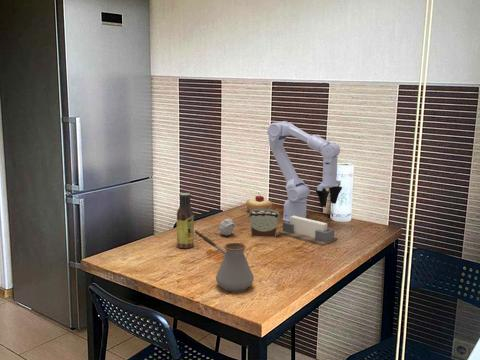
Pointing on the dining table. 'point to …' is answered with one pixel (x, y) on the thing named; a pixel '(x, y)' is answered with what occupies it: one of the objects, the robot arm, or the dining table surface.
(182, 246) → the sauce bottle
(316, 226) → the slat
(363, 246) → the dining table surface
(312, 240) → the base board
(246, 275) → the coffee pot
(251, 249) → the dining table surface
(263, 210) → the food container
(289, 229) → the end caps
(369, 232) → the dining table surface
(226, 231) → the crumpled paper ball
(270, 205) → the pastry
